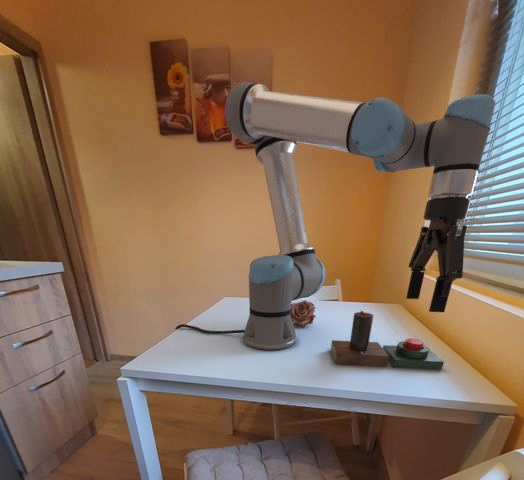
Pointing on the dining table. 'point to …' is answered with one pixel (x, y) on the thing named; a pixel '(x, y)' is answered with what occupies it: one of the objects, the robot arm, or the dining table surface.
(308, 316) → the flower
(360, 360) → the brown wooden block
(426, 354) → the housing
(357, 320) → the dark brown cylinder
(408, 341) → the button
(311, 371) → the dining table surface
